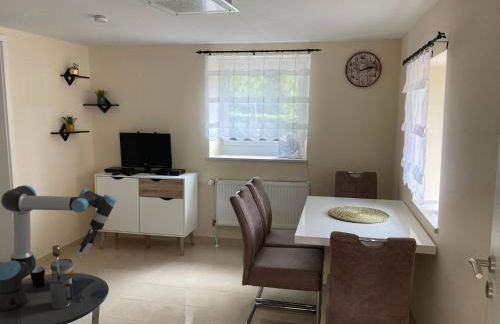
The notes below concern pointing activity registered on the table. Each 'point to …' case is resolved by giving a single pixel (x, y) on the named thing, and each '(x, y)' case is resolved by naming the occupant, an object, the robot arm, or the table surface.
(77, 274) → the table surface
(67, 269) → the reusable coffee cup
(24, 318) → the table surface
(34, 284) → the coffee mug
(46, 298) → the table surface
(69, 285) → the press carafe
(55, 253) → the plunger
